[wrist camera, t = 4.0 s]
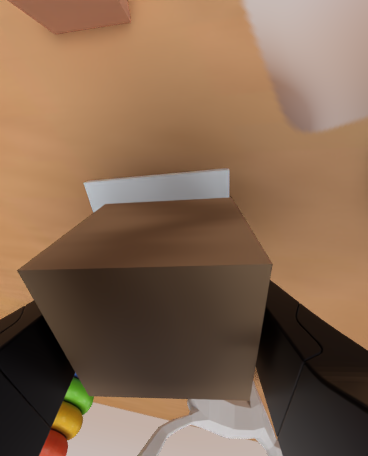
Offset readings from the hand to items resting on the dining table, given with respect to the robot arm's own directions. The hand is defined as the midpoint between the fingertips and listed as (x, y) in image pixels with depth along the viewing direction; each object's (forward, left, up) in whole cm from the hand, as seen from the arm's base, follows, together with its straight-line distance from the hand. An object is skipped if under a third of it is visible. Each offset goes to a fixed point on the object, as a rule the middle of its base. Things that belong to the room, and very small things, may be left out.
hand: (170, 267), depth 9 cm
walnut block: (0, 0, -1) cm, 1 cm away
